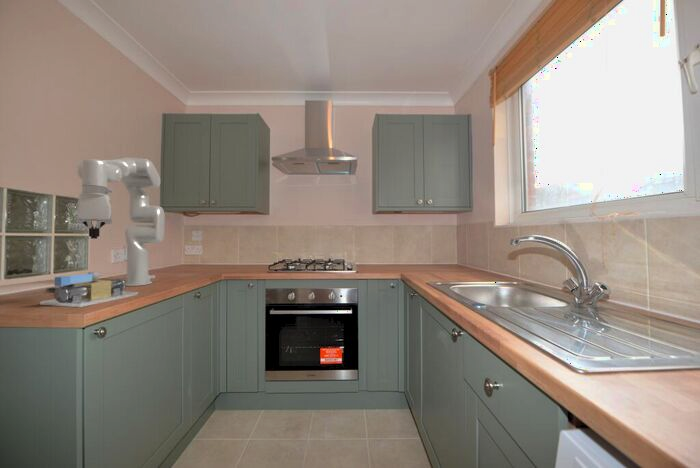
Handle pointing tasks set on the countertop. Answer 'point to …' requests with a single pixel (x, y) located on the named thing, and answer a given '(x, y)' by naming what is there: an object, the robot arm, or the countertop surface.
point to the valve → (63, 286)
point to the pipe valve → (89, 293)
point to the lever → (76, 279)
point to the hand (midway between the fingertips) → (94, 238)
